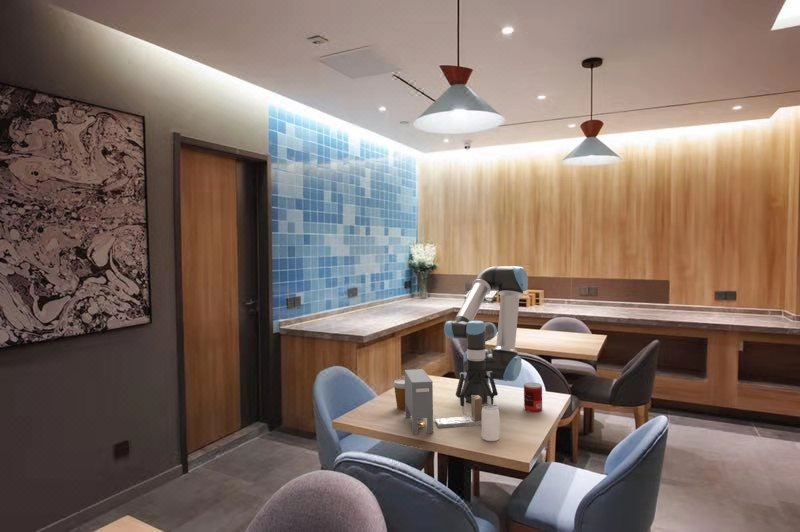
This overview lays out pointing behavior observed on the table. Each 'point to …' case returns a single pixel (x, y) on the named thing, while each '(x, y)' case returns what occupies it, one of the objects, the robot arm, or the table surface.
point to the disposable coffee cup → (400, 393)
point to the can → (490, 422)
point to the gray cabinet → (419, 398)
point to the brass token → (421, 424)
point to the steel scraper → (465, 421)
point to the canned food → (533, 397)
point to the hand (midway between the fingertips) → (476, 413)
